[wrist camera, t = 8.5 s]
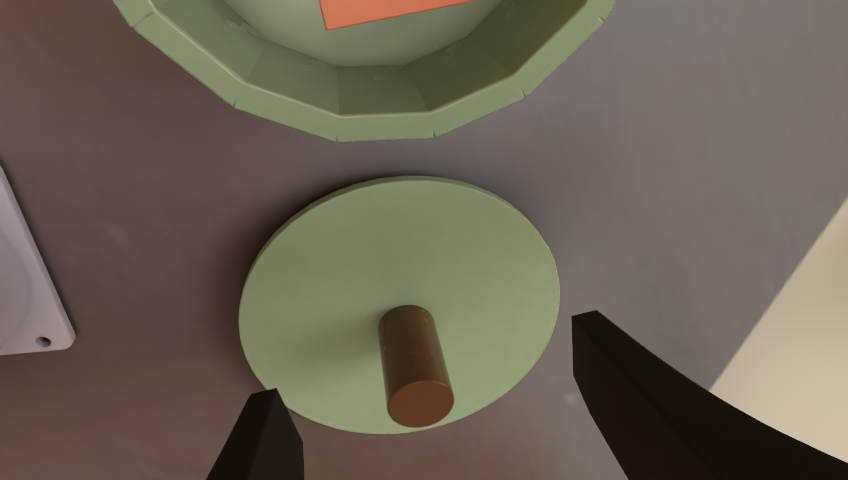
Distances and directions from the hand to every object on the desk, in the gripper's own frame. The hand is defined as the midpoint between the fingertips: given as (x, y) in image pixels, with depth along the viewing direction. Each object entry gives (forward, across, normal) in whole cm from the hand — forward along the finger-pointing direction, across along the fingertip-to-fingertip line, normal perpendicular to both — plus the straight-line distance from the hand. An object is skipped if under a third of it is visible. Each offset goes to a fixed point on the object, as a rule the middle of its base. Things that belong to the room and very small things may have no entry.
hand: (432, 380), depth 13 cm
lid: (+8, +1, +5) cm, 10 cm away
